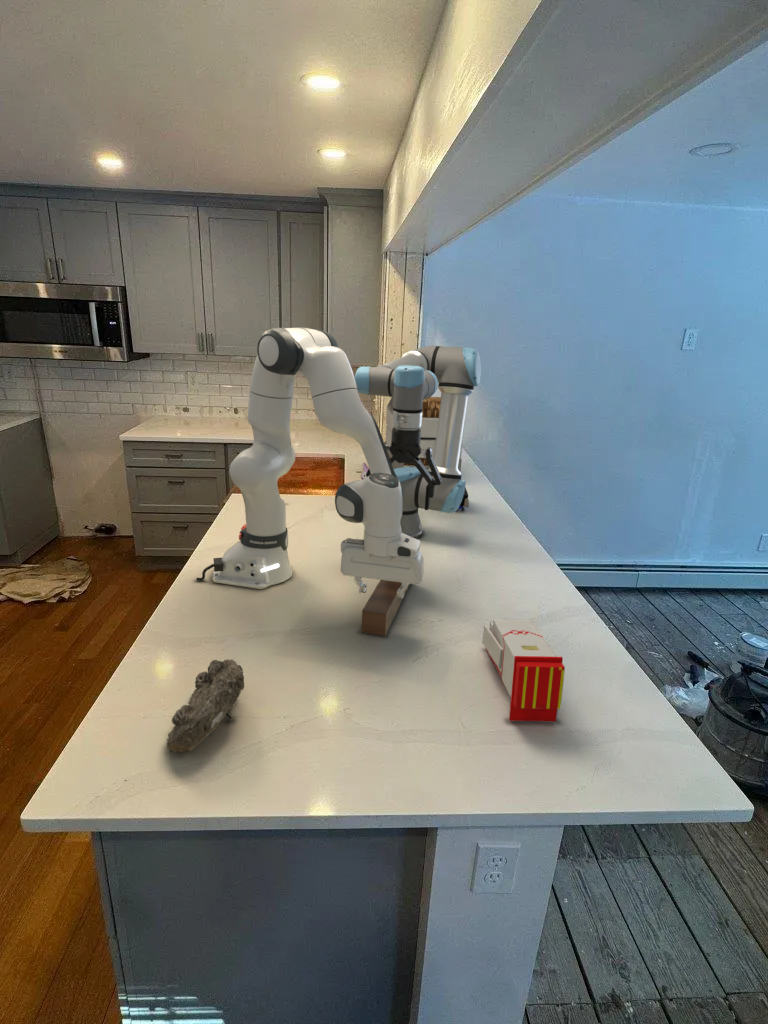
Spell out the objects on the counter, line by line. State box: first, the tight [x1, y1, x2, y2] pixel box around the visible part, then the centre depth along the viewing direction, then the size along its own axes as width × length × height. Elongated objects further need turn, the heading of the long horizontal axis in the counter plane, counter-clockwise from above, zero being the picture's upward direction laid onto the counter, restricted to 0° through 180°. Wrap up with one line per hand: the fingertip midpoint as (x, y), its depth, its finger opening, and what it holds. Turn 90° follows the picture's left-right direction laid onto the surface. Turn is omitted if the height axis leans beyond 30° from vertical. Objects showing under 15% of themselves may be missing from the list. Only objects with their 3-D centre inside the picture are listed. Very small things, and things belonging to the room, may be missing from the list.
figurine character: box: [458, 486, 470, 512], centre depth 229 cm, size 7×8×15 cm
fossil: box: [166, 658, 245, 754], centre depth 106 cm, size 22×10×15 cm
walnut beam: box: [361, 580, 411, 637], centre depth 151 cm, size 30×6×6 cm, turn 166°
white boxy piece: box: [384, 392, 465, 472], centre depth 268 cm, size 34×33×41 cm
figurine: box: [360, 462, 369, 480], centre depth 233 cm, size 9×10×15 cm
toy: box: [481, 618, 566, 722], centre depth 122 cm, size 12×13×30 cm
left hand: (381, 594), depth 138 cm, fingers open, 8 cm apart
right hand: (402, 505), depth 153 cm, fingers open, 13 cm apart
